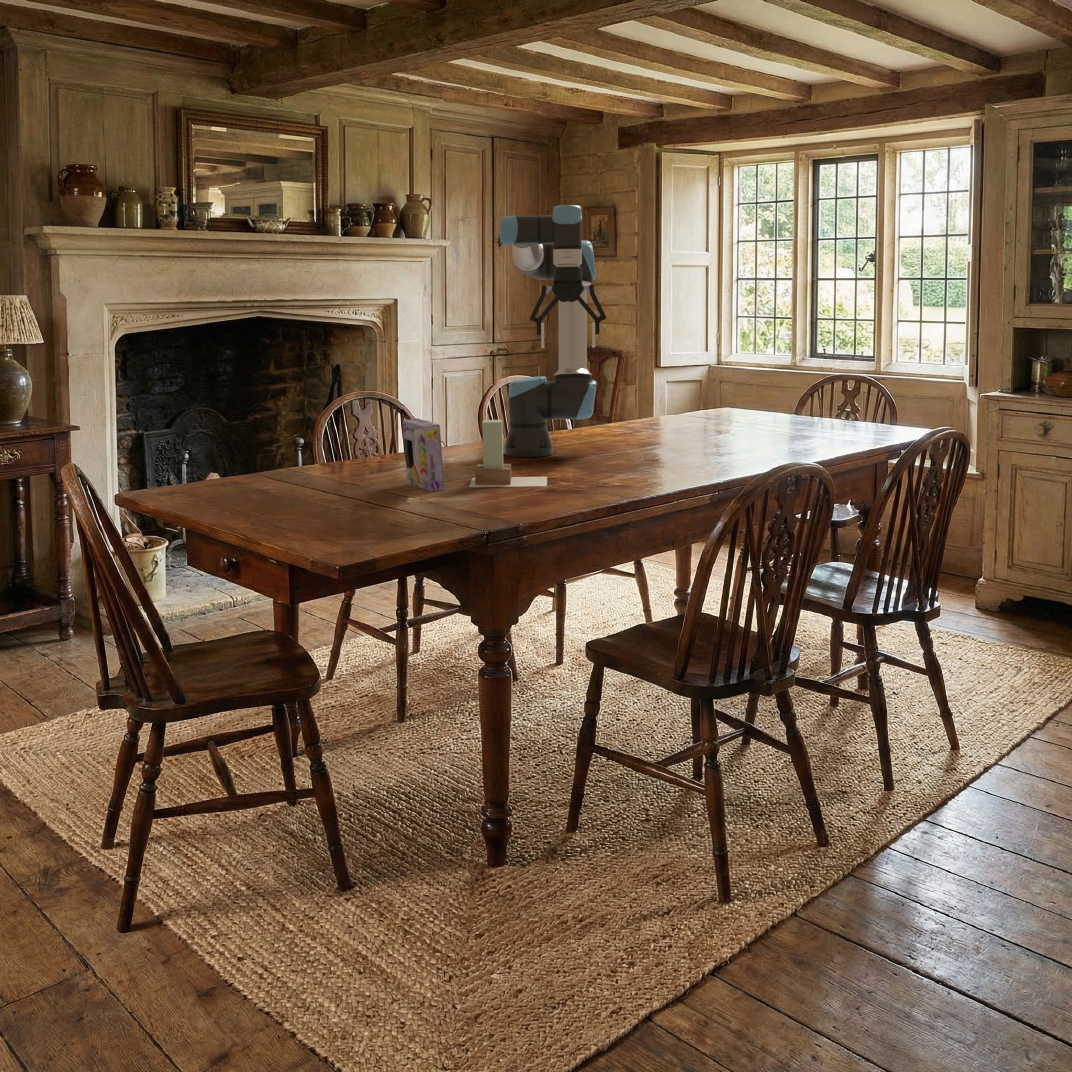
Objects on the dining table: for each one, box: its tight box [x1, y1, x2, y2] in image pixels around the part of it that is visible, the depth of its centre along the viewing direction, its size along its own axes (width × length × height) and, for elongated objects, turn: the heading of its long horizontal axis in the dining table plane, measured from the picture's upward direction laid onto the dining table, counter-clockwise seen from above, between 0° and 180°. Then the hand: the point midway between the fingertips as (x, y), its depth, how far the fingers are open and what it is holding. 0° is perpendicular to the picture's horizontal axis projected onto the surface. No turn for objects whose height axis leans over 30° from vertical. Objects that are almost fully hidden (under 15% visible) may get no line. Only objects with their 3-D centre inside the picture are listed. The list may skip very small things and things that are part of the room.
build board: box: [468, 476, 548, 488], centre depth 305 cm, size 14×20×1 cm
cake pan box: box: [402, 417, 445, 492], centre depth 301 cm, size 19×5×18 cm, turn 24°
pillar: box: [481, 419, 504, 468], centre depth 303 cm, size 5×5×12 cm
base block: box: [474, 463, 512, 485], centre depth 304 cm, size 9×9×4 cm
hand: (568, 347), depth 311 cm, fingers open, 13 cm apart
